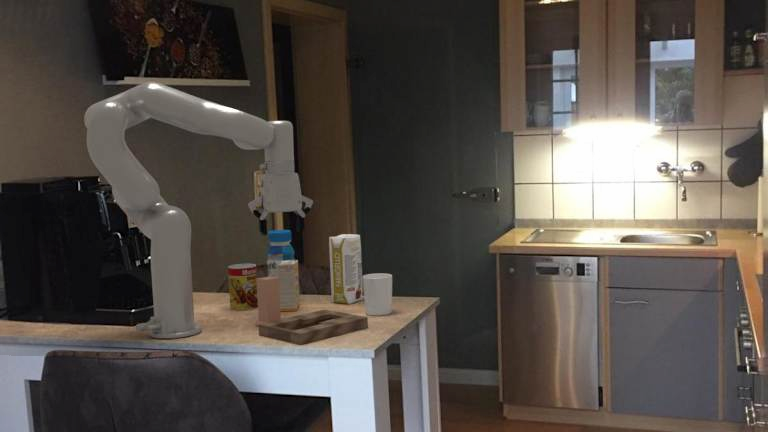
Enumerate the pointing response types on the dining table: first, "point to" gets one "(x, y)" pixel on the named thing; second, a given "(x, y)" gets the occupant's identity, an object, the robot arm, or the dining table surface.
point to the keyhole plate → (313, 326)
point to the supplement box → (288, 285)
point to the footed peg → (268, 300)
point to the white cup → (377, 293)
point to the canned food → (243, 286)
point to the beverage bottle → (278, 250)
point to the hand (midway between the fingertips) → (282, 233)
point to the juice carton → (346, 268)
